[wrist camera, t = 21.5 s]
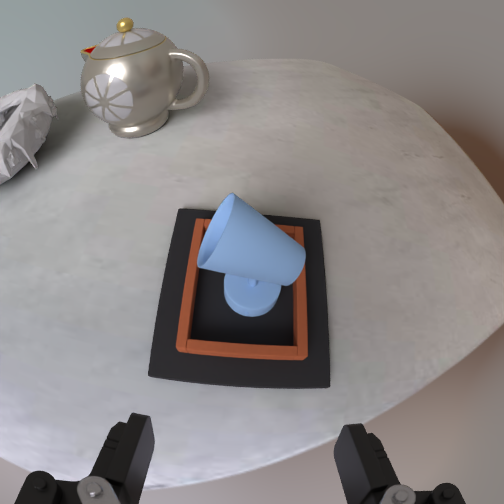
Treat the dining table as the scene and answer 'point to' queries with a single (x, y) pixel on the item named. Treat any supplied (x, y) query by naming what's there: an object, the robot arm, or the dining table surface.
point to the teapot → (137, 79)
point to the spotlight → (249, 256)
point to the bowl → (23, 128)
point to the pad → (240, 318)
